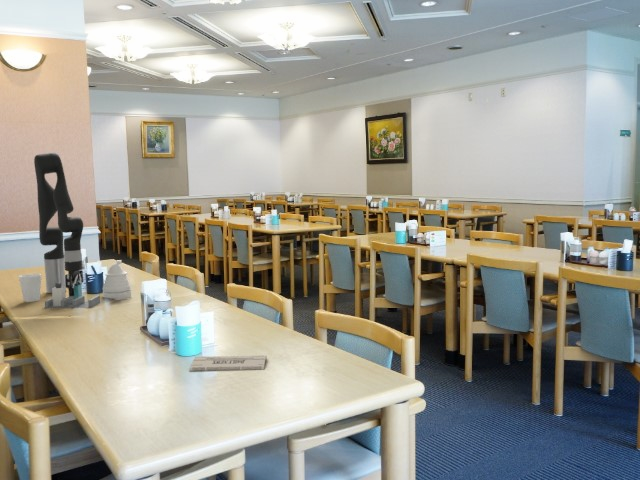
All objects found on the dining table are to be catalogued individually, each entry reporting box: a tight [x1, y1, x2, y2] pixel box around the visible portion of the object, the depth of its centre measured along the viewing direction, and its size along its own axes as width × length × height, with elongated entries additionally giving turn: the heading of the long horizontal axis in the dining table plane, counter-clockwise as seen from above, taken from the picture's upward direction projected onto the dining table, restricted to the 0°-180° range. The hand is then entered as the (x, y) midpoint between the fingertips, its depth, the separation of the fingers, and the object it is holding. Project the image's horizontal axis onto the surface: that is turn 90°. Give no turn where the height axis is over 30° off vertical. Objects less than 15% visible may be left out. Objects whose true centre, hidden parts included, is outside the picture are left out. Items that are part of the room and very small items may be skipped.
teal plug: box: [73, 281, 83, 299], centre depth 268 cm, size 4×4×10 cm
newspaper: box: [188, 355, 267, 372], centre depth 174 cm, size 23×12×2 cm, turn 91°
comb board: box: [42, 295, 102, 309], centre depth 258 cm, size 12×22×4 cm, turn 91°
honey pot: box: [102, 259, 132, 301], centre depth 277 cm, size 13×13×18 cm
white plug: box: [51, 283, 67, 306], centre depth 257 cm, size 4×4×10 cm
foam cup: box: [18, 273, 42, 303], centre depth 269 cm, size 10×9×13 cm
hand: (75, 294), depth 268 cm, fingers open, 8 cm apart
